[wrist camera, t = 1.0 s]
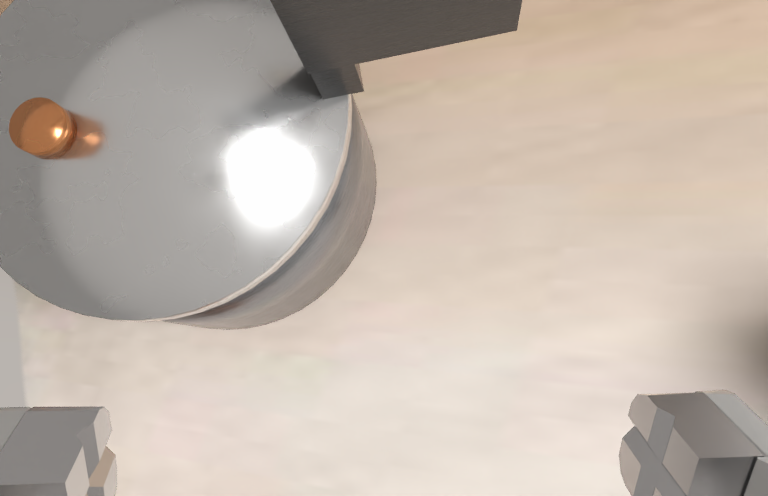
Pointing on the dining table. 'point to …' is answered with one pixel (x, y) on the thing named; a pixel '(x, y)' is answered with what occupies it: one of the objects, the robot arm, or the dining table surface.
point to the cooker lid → (186, 137)
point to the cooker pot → (309, 249)
